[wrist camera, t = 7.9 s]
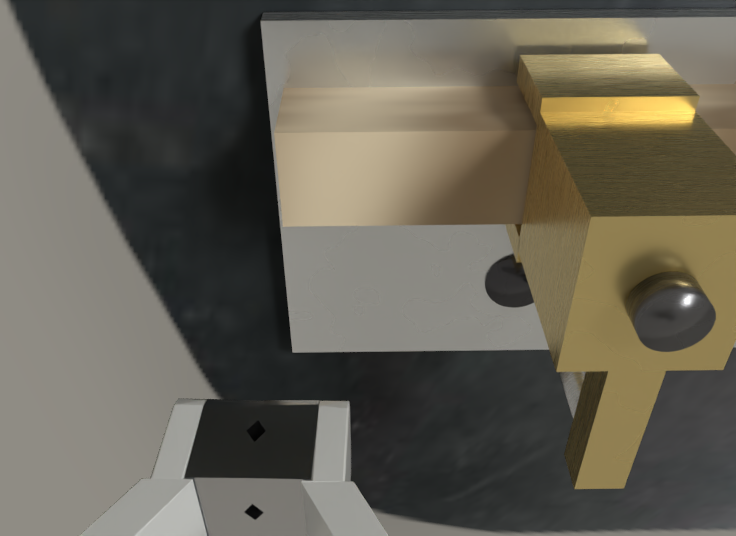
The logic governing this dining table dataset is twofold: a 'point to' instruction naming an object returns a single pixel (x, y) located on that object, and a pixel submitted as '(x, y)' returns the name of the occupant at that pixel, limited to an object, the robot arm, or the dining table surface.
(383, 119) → the trammel beam
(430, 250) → the flange plate
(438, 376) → the dining table surface
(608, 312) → the sliding leg
